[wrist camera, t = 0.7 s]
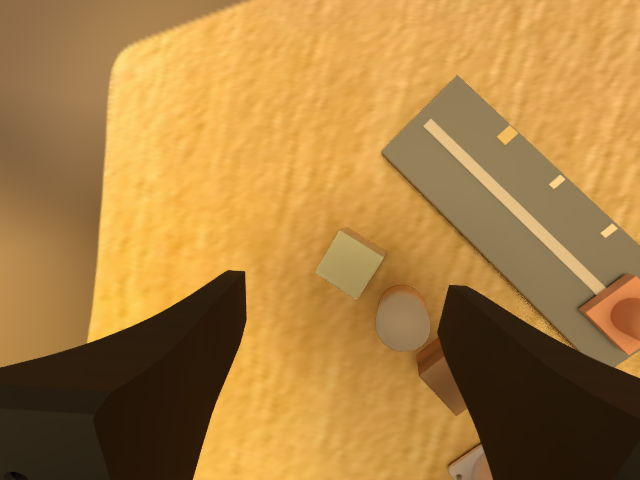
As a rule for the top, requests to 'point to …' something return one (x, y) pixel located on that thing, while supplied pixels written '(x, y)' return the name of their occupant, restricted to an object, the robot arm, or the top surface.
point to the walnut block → (440, 377)
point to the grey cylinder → (402, 319)
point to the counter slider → (618, 313)
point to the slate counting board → (516, 211)
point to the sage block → (350, 262)
